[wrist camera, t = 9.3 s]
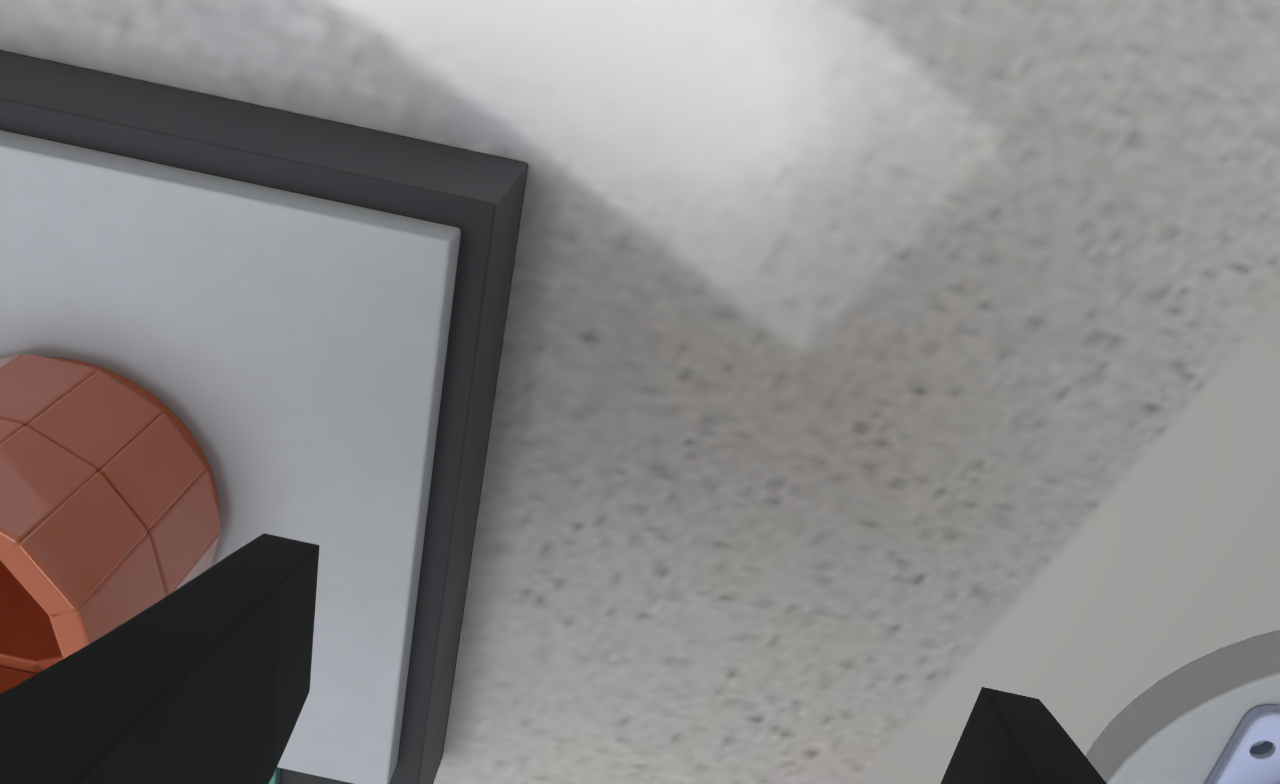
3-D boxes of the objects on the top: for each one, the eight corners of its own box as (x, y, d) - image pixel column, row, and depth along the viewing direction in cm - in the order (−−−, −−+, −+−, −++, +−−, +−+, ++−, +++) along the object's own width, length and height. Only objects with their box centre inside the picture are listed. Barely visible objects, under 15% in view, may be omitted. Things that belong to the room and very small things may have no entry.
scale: (442, 757, 26) (399, 880, 23) (-76, 646, 27) (-191, 753, 23) (529, 162, 20) (485, 218, 17) (-162, 15, 20) (-340, 42, 17)
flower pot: (232, 630, 21) (105, 814, 17) (-49, 570, 21) (-244, 739, 17) (238, 381, 18) (91, 525, 14) (-79, 314, 18) (-316, 438, 14)
